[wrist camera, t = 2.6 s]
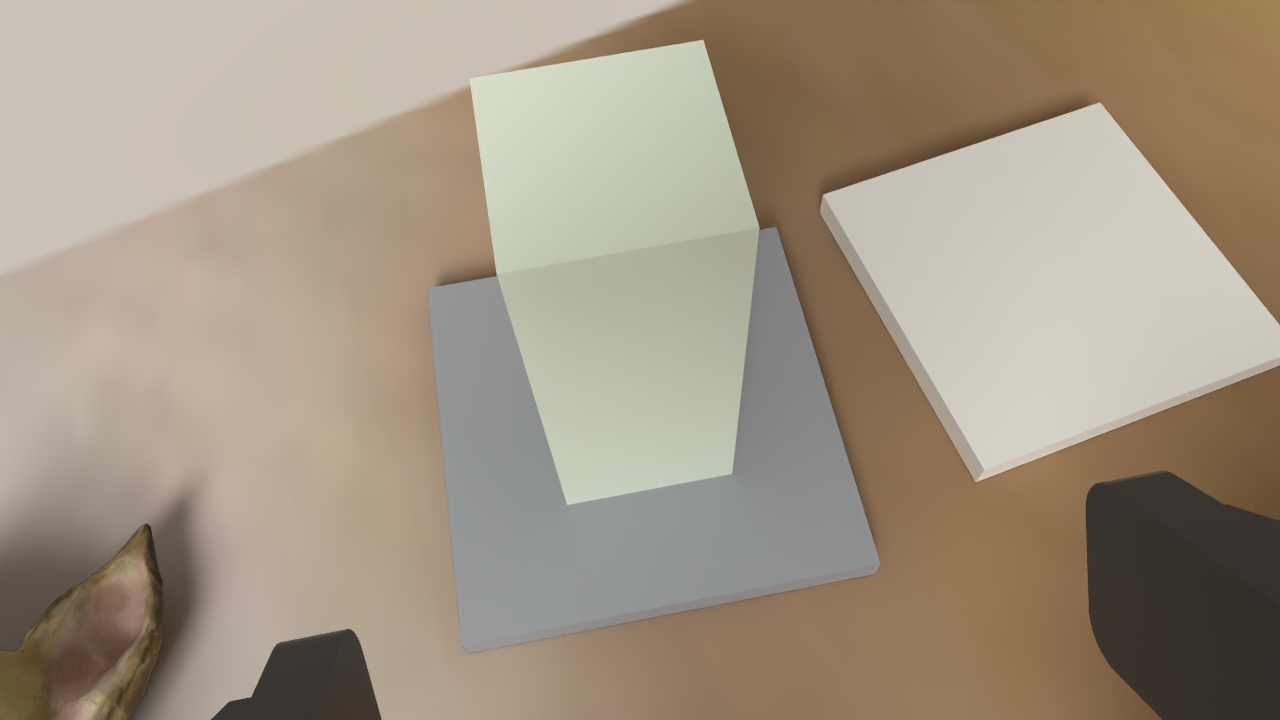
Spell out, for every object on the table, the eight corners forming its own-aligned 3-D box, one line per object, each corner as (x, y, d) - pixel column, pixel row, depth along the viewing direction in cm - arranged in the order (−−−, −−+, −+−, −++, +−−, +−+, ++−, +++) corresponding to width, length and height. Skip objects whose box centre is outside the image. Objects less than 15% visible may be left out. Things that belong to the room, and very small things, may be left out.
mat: (1090, 121, 37) (1100, 102, 36) (1282, 364, 32) (1299, 349, 31) (819, 212, 35) (822, 194, 34) (975, 482, 30) (984, 469, 29)
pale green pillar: (697, 331, 32) (703, 39, 21) (732, 473, 29) (759, 227, 19) (544, 359, 32) (469, 78, 21) (567, 505, 29) (496, 273, 18)
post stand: (773, 243, 35) (789, 126, 29) (874, 574, 29) (917, 502, 24) (433, 304, 34) (387, 195, 29) (468, 653, 28) (418, 598, 23)
